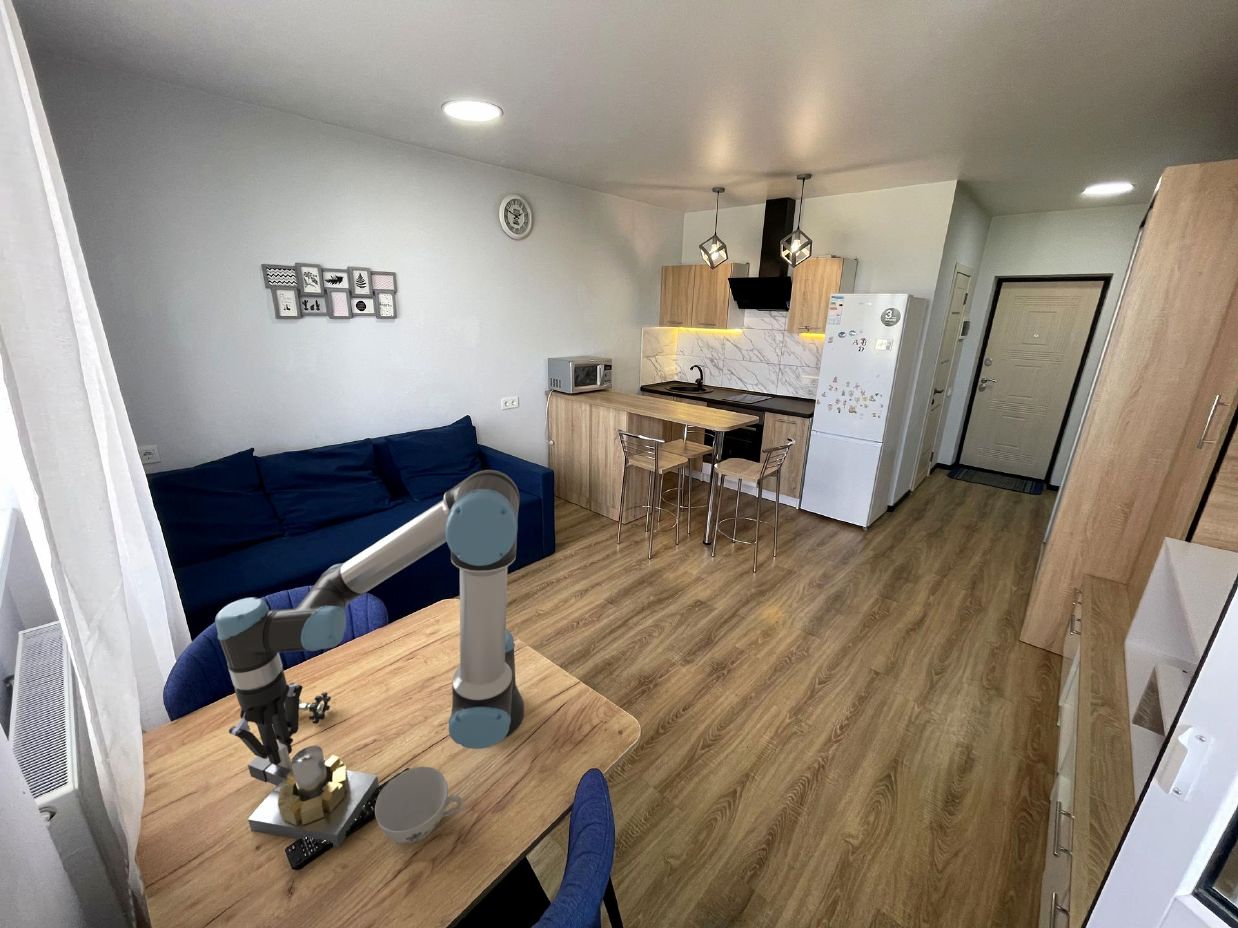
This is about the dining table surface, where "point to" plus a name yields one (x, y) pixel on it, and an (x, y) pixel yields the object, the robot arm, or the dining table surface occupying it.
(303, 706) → the valve
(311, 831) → the plate
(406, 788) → the teacup
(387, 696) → the dining table surface
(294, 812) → the grey bar gold ring
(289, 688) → the robot arm
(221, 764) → the dining table surface
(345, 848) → the dining table surface
